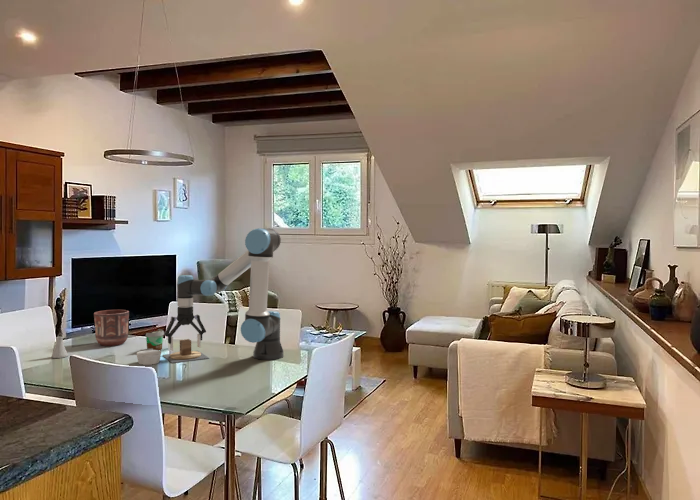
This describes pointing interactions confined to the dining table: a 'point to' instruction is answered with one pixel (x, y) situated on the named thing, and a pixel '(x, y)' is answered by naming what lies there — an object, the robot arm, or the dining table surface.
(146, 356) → the ramekin
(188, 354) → the oak lid
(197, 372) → the dining table surface
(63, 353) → the flask
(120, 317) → the pottery
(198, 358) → the rubber mat
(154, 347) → the food container
